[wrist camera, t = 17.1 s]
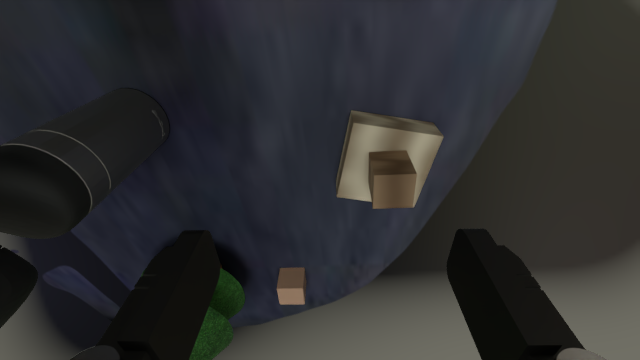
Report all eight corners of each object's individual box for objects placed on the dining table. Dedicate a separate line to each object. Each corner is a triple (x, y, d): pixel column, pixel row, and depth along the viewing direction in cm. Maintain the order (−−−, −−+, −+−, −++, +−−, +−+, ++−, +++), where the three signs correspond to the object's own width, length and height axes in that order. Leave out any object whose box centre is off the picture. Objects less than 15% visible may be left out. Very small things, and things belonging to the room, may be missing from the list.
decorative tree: (147, 275, 62) (25, 469, 37) (171, 217, 53) (32, 423, 28) (231, 305, 67) (174, 493, 42) (267, 256, 58) (222, 460, 33)
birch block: (336, 178, 48) (336, 196, 44) (350, 109, 42) (353, 122, 38) (406, 188, 49) (413, 207, 45) (432, 121, 42) (443, 136, 38)
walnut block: (368, 182, 42) (372, 208, 37) (369, 152, 40) (374, 175, 35) (403, 181, 42) (412, 207, 37) (406, 150, 39) (417, 173, 34)
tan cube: (283, 283, 63) (279, 304, 59) (280, 267, 60) (276, 288, 56) (306, 283, 63) (304, 304, 58) (304, 267, 60) (302, 288, 56)
